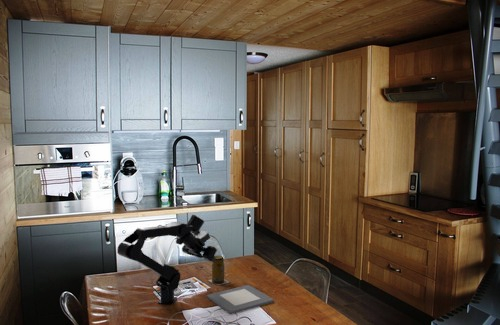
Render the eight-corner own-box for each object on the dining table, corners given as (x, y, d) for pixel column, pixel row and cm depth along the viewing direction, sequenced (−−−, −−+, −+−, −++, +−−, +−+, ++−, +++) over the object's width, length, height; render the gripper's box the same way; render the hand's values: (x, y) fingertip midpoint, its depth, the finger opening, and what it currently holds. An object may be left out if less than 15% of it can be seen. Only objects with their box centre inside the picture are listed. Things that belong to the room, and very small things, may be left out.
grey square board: (230, 314, 167) (230, 311, 167) (206, 297, 184) (206, 294, 184) (273, 301, 179) (273, 299, 179) (248, 286, 196) (248, 284, 196)
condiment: (219, 277, 208) (220, 254, 207) (230, 282, 201) (230, 258, 200) (207, 280, 203) (207, 256, 202) (217, 286, 197) (217, 261, 196)
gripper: (213, 230, 184) (231, 248, 193) (186, 223, 197) (204, 241, 206) (200, 251, 179) (219, 269, 188) (173, 243, 191) (192, 260, 201)
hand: (208, 259), depth 196 cm, fingers open, 9 cm apart
